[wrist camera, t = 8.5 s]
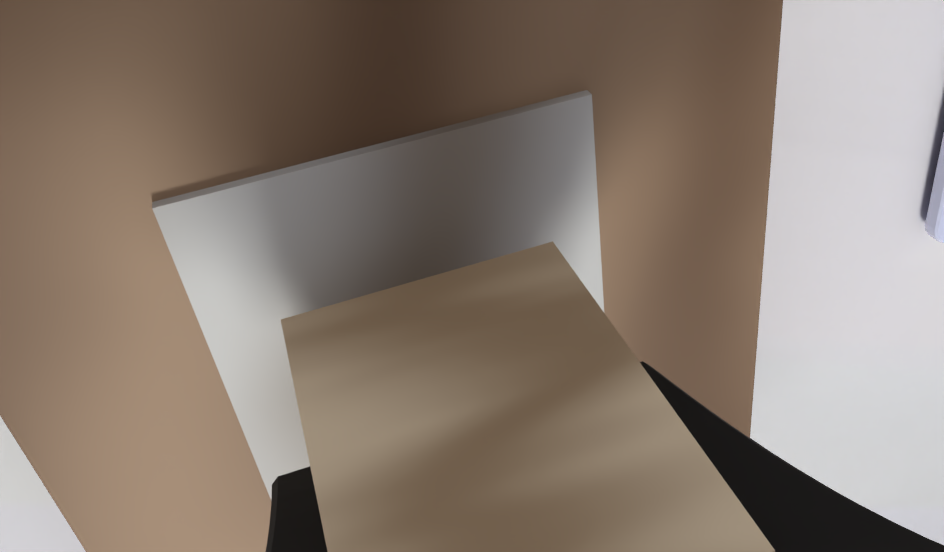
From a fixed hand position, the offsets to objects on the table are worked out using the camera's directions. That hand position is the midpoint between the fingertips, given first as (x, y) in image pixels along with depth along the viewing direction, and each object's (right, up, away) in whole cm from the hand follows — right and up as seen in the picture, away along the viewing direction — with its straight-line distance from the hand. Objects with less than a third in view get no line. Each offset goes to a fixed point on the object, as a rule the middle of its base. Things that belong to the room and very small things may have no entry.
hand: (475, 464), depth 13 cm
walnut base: (-1, +3, +4) cm, 5 cm away
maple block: (-1, +1, +1) cm, 2 cm away
